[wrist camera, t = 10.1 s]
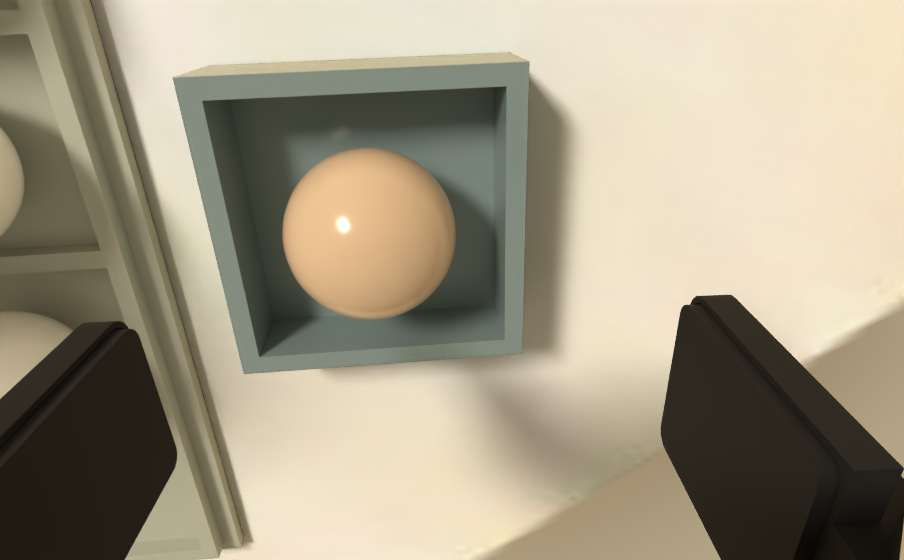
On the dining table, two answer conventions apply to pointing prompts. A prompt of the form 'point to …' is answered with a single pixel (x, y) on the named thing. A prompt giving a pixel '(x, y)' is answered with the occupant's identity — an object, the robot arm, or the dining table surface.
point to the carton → (102, 249)
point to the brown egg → (369, 233)
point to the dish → (348, 127)
